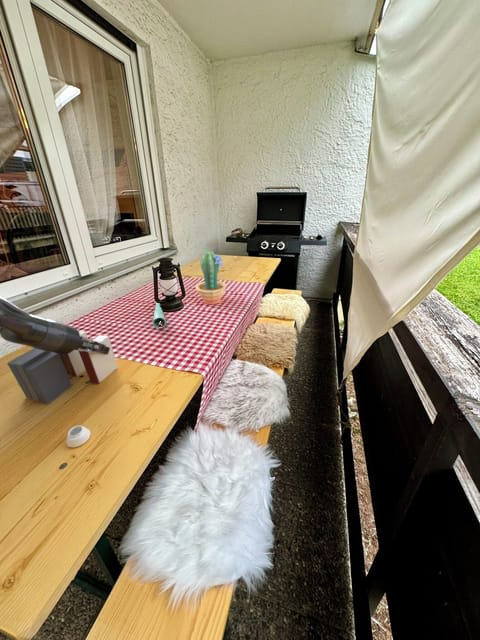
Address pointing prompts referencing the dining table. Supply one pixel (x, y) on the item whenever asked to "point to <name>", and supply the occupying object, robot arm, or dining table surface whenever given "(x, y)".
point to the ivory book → (99, 361)
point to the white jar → (77, 436)
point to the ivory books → (73, 360)
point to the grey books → (40, 375)
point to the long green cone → (158, 317)
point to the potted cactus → (211, 279)
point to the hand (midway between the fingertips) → (102, 349)
